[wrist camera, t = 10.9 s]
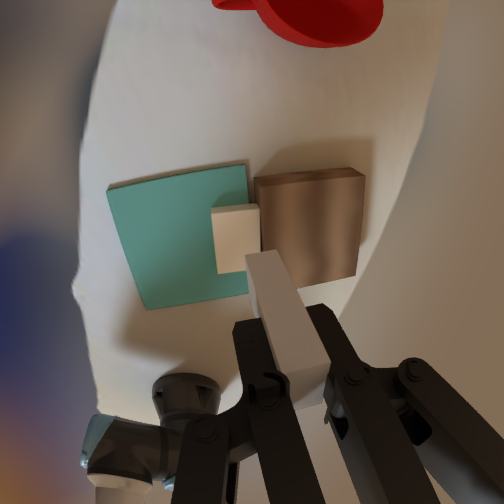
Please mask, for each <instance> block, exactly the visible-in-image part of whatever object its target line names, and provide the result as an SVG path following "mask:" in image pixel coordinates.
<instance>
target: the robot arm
mask: <svg viewBox="0 0 504 504" xmlns="http://www.w3.org/2000/svg"><path fill="white" fill-rule="evenodd" d="M244 256H245V264H246V272H247V280H248V289H249V297H250V302H251V306H252V309H253V313H254V316H255V318H254V319H249V320H244V321H239V322H236V323H235V326H234V329H233V332H232V334H233V340H234V345H235V350H236V355H237V360H238V365H239V370H240V375H241V380H242V385H243V393H242V397H241V398H240V400H239V402H238V403H237V404H236V405H235V406H234V407H232V408H230V409H229V410H227V411H225V412H223V413H220V414H218V415H217V413H218V409H219V405H220V400H221V395H220V388H219V386H218V385H217V383H216V382H214V381H213V380H211V379H210V378H207V377H205V376H201V375H197V374H185V373H184V374H173V375H169V376H166V377H163V378H161V379H159V380H158V381H156V382H155V384H154V385H153V388H152V399H153V402H154V405H155V408H156V411H157V413H158V416H159V419H160V426H157V425H152V424H146V423H142V422H137V421H133V420H128V419H124V418H120V417H118V416H110V415H106V414H101V413H97V414H94V415H93V416H92V417H91V419H90V421H89V424H88V427H87V431H86V434H85V438H84V442H83V447H82V448H83V449H82V453H81V457H80V465H81V466H83V467H84V468H87V477H88V478H89V480H90V481H91V482H92V483H93V484H94V486H95V504H145V497H144V496H145V494H146V493H147V492H148V491H150V490H151V489H152V488H153V484H152V480H155V481H162V485H163V487H164V488H165V489H166V490H172V491H173V493H172V499H171V504H236V500H237V499H236V498H237V488H238V476H239V465H240V461H242V460H243V459H245V458H248V457H249V456H251V455H253V454H255V453H258V457H259V461H260V466H261V469H262V474H263V478H264V482H265V486H266V490H267V494H268V498H269V502H270V504H326V503H325V500H324V497H323V494H322V491H321V488H320V485H319V483H318V480H317V476H316V473H315V470H314V467H313V464H312V462H311V459H310V455H309V452H308V449H307V447H306V443H305V441H304V437H303V435H302V431H301V429H300V425H299V422H298V419H297V416H296V414H295V410H299V409H303V408H306V407H310V406H314V405H317V404H320V403H322V401H323V397H324V399H325V402H326V404H327V407H328V408H327V411H326V414H325V418H324V422H325V424H327V423H328V421H329V422H330V425H331V428H332V430H333V433H334V435H335V438H336V440H337V443H338V446H339V448H340V451H341V454H342V456H343V459H344V461H345V464H346V467H347V469H348V472H349V474H350V477H351V480H352V482H353V485H354V488H355V490H356V493H357V495H358V498H359V501H360V503H361V504H440V501H439V499H438V497H437V495H436V492H435V490H434V488H433V486H432V484H431V482H430V479H429V477H428V475H427V473H426V471H425V469H426V470H427V471H428V472H429V473H430V474H431V475H432V477H433V478H434V479H435V480H436V481H437V482H438V483H439V484H440V486H441V487H442V488H443V489H444V490H445V491H446V492H447V493H448V495H449V496H450V497H451V498H452V499H453V500H454V502H455V503H456V504H504V439H503V438H502V437H501V436H500V435H499V434H498V433H497V432H496V431H495V430H494V429H493V428H492V427H491V426H490V425H489V424H488V423H487V421H486V420H484V418H483V417H482V416H481V415H480V414H479V413H478V412H477V411H476V410H475V409H474V408H473V407H472V406H471V405H470V404H469V403H468V402H467V401H466V400H465V399H464V398H463V397H462V396H461V395H460V394H459V393H458V392H457V391H456V390H455V389H454V388H453V387H451V385H450V384H449V383H448V382H447V381H446V380H445V379H443V378H442V377H441V376H440V375H439V374H438V373H437V372H436V371H435V370H434V369H433V368H432V367H431V366H430V365H429V364H428V363H427V362H425V361H424V360H422V359H419V358H407V359H405V360H403V361H402V362H401V363H400V365H399V366H398V367H395V368H374V367H371V366H370V365H368V364H366V363H365V362H362V361H361V360H360V358H359V357H358V355H357V354H356V352H355V350H354V348H353V346H352V345H351V343H350V341H349V339H348V338H347V336H346V334H345V332H344V330H342V327H341V325H340V323H339V322H338V320H337V318H336V316H335V314H334V313H333V311H332V310H331V309H330V308H328V307H327V306H326V305H324V304H323V303H321V304H317V305H312V306H308V307H305V306H304V304H303V302H302V300H301V298H300V296H299V294H298V292H297V290H296V288H295V286H294V284H293V282H292V280H291V278H290V276H289V274H288V272H287V270H286V268H285V266H284V264H283V262H282V259H281V257H280V255H279V253H278V251H277V249H275V250H270V251H264V252H258V253H252V254H247V255H244ZM423 466H424V467H425V469H424V467H423Z"/></svg>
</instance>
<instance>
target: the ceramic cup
mask: <svg viewBox="0 0 504 504" xmlns="http://www.w3.org/2000/svg"><path fill="white" fill-rule="evenodd" d="M212 4H213V5H214V7H216V8H218V9H223V10H257V13H258V14H259V16H260V18H261V20H262V21H263V22H264V23H265V24H266V26H267V27H268V28H269V29H270V30H272V31H273V32H274V33H275V34H276V35H278V36H280V37H282V38H283V39H285V40H287V41H290V42H292V43H295V44H298V45H302V46H306V47H316V48H331V47H343V46H349V45H352V44H356V43H359V42H361V41H363V40H365V39H367V38H368V37H369V36H371V35H372V34H373V33H374V32H375V31H376V29H377V28H378V26H379V25H380V22H381V19H382V16H383V8H384V5H383V0H212Z"/></svg>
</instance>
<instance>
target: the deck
mask: <svg viewBox="0 0 504 504" xmlns="http://www.w3.org/2000/svg"><path fill="white" fill-rule="evenodd" d="M254 188H255V199H256V203H257V205H258V207H259V209H260V252H264V251H270V250H275V249H277V251H278V253H279V255H280V257H281V259H282V262H283V264H284V266H285V268H286V270H287V272H288V274H289V276H290V278H291V280H292V282H293V284H294V286H295V288H296V289H297V288H302V287H306V286H311V285H316V284H320V283H325V282H330V281H334V280H339V279H343V278H347V277H352V276H355V275H356V268H357V261H358V253H359V245H360V236H361V227H362V217H363V205H364V192H365V175H363V174H361V173H360V172H358V171H356V170H355V169H353V168H338V169H326V170H316V171H306V172H296V173H287V174H279V175H271V176H263V177H255V178H254Z"/></svg>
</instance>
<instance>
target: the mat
mask: <svg viewBox="0 0 504 504" xmlns="http://www.w3.org/2000/svg"><path fill="white" fill-rule="evenodd" d="M106 194H107V198H108V202H109V205H110V209H111V212H112V215H113V219H114V222H115V225H116V228H117V231H118V235H119V238H120V241H121V244H122V247H123V250H124V253H125V255H126V258H127V261H128V264H129V267H130V269H131V272H132V275H133V277H134V280H135V283H136V285H137V288H138V291H139V293H140V296H141V298H142V301H143V303H144V305H145V308H146V310H152V309H158V308H165V307H171V306H177V305H184V304H190V303H196V302H202V301H208V300H214V299H219V298H225V297H231V296H236V295H242V294H247V293H249V289H248V280H247V272H246V271H238V272H231V273H223V274H218V271H217V264H216V256H215V247H214V238H213V228H212V219H211V209H210V208H214V207H223V206H232V205H242V204H249V198H248V188H247V178H246V168H245V164H240V165H233V166H226V167H220V168H213V169H207V170H201V171H195V172H190V173H184V174H179V175H173V176H168V177H163V178H158V179H153V180H149V181H144V182H139V183H135V184H130V185H126V186H122V187H118V188H114V189H109V190H107V191H106Z"/></svg>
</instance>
